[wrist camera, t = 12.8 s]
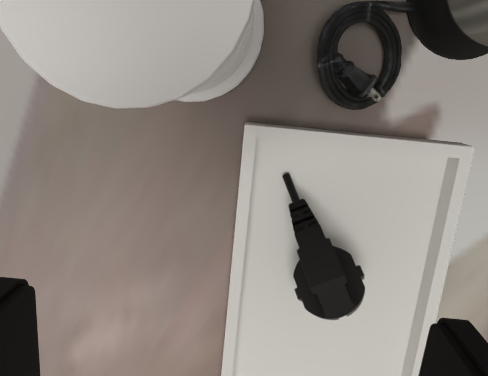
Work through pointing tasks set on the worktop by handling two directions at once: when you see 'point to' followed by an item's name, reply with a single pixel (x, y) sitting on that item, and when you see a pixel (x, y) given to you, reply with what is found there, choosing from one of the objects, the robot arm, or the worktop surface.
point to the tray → (347, 238)
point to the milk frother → (398, 43)
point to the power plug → (322, 266)
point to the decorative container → (137, 47)
